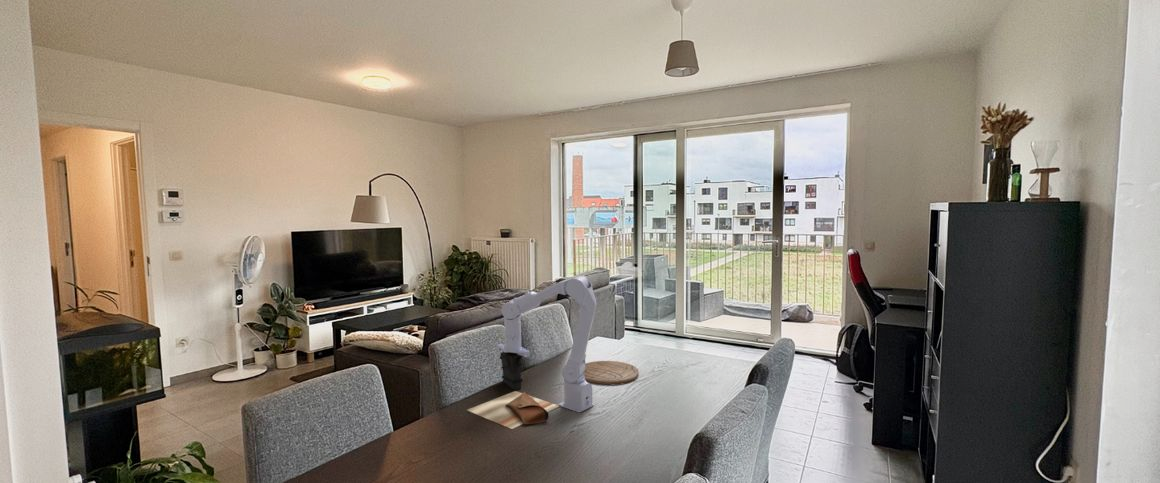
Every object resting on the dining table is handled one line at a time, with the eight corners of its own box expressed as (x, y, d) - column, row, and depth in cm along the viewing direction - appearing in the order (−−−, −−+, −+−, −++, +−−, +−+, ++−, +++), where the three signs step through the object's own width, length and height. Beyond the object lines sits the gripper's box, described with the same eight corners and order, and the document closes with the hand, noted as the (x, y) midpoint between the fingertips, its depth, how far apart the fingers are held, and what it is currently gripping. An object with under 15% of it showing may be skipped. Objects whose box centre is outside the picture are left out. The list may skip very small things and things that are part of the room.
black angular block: (516, 388, 173) (509, 347, 178) (504, 393, 184) (497, 354, 188) (526, 386, 175) (518, 346, 180) (513, 391, 186) (506, 353, 190)
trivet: (599, 361, 212) (599, 357, 211) (649, 372, 197) (649, 367, 197) (564, 377, 191) (564, 372, 191) (618, 390, 177) (618, 385, 177)
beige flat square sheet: (560, 406, 161) (560, 406, 161) (511, 429, 144) (511, 428, 144) (515, 391, 175) (515, 390, 175) (466, 410, 158) (466, 409, 158)
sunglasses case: (503, 404, 161) (512, 386, 163) (519, 411, 164) (528, 393, 166) (524, 425, 146) (534, 404, 147) (542, 431, 149) (552, 411, 150)
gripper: (490, 334, 168) (490, 372, 168) (519, 341, 159) (519, 381, 159) (505, 330, 173) (505, 367, 174) (533, 336, 164) (534, 375, 165)
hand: (513, 373), depth 167 cm, fingers closed
